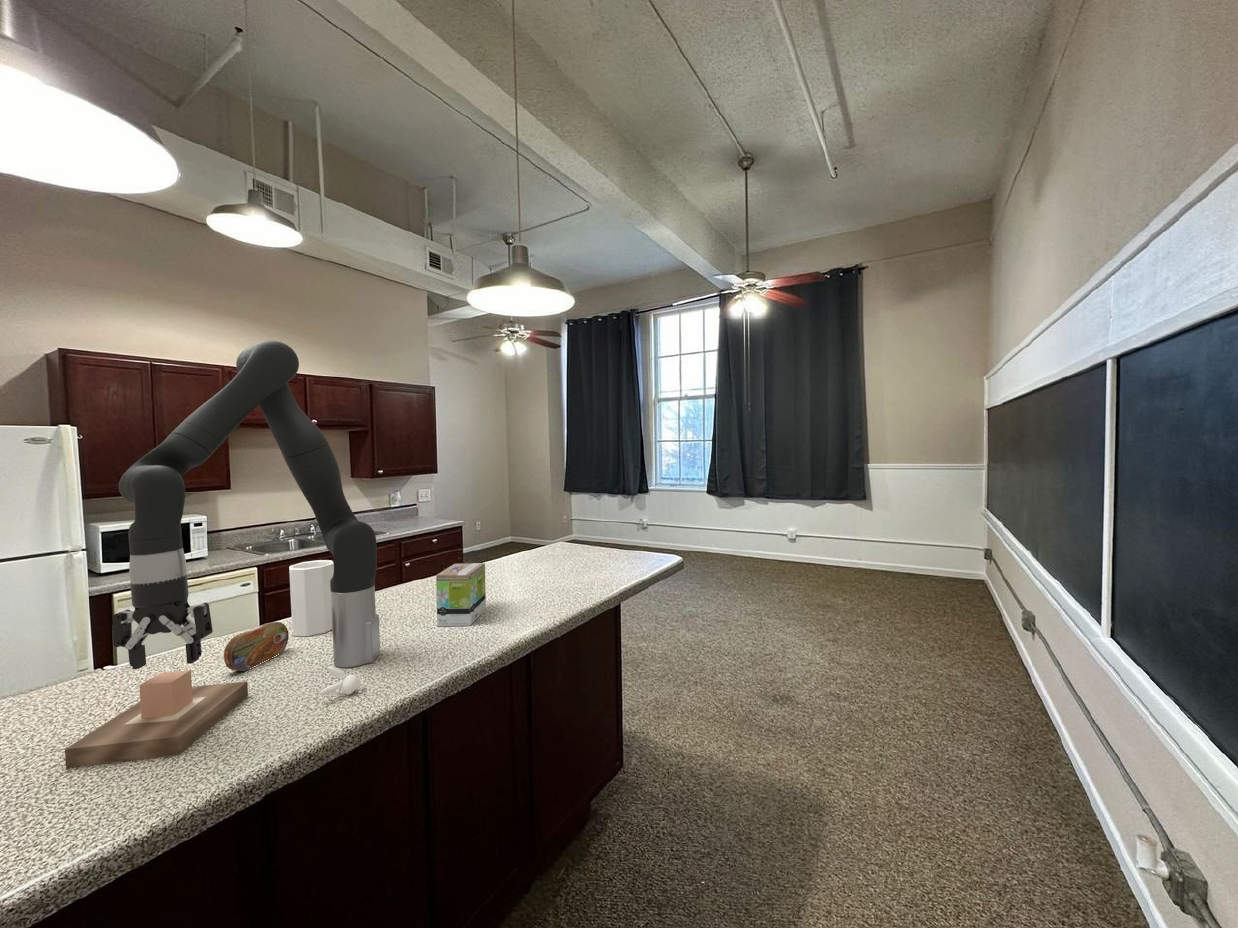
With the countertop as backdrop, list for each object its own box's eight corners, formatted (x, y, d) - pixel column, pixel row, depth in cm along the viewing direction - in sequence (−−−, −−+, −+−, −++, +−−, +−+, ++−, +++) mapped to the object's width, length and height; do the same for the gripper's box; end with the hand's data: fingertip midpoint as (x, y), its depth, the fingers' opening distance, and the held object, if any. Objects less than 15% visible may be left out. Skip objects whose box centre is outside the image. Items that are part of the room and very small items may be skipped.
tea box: (472, 626, 139) (470, 573, 138) (436, 627, 139) (434, 574, 139) (487, 609, 154) (485, 561, 154) (454, 609, 154) (452, 562, 154)
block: (192, 701, 94) (190, 669, 93) (173, 715, 89) (171, 682, 88) (162, 704, 93) (160, 672, 93) (141, 718, 88) (139, 685, 88)
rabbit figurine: (362, 697, 100) (320, 689, 96) (355, 708, 101) (313, 700, 98) (370, 671, 105) (329, 661, 101) (362, 681, 106) (323, 672, 103)
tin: (233, 677, 111) (231, 640, 111) (221, 676, 111) (219, 639, 111) (290, 650, 126) (289, 617, 125) (280, 649, 126) (278, 616, 126)
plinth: (248, 695, 102) (247, 680, 102) (179, 754, 82) (178, 735, 82) (158, 704, 99) (158, 688, 99) (65, 767, 80) (64, 747, 79)
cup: (345, 626, 142) (342, 561, 141) (303, 640, 132) (300, 570, 132) (325, 620, 148) (322, 558, 147) (283, 632, 138) (280, 566, 138)
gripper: (216, 567, 95) (223, 651, 95) (130, 574, 92) (137, 660, 93) (190, 578, 87) (197, 669, 88) (95, 585, 85) (103, 678, 85)
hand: (166, 664), depth 90 cm, fingers open, 8 cm apart
